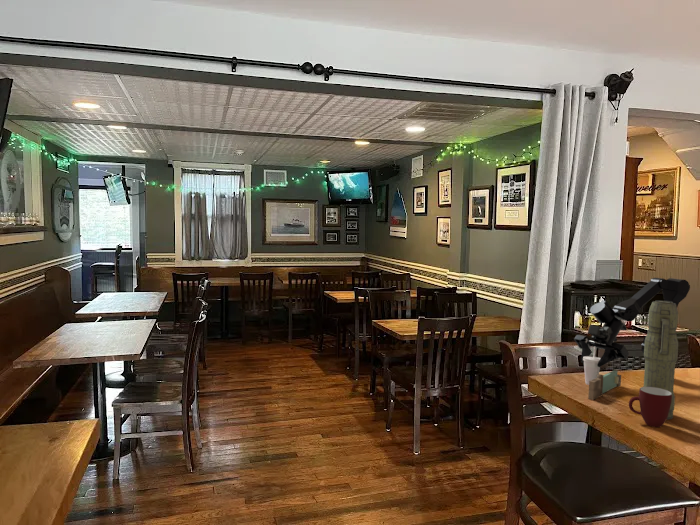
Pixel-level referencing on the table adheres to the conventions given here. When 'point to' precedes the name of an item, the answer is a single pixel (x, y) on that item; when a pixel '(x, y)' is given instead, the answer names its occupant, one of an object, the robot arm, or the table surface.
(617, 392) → the table surface
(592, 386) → the brown block
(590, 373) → the smoothie
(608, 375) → the green block
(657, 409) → the mug
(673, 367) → the thermos
